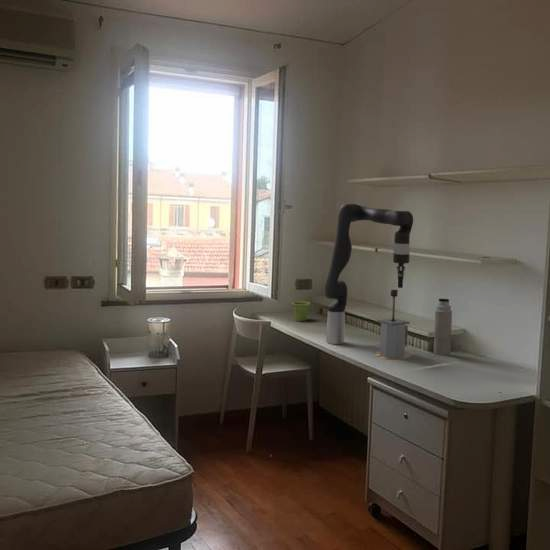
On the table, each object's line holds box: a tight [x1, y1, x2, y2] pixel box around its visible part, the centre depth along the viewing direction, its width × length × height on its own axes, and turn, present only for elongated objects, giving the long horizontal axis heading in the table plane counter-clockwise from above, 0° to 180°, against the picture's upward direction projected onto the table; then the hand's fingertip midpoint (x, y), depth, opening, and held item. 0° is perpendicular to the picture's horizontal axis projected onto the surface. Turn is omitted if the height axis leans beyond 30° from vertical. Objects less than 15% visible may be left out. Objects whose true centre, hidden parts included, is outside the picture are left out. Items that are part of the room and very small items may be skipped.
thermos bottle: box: [433, 298, 453, 357], centre depth 304 cm, size 8×8×28 cm
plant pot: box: [291, 301, 310, 322], centre depth 397 cm, size 12×12×11 cm
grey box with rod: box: [376, 317, 411, 358], centre depth 300 cm, size 11×14×17 cm
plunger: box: [390, 289, 399, 321], centre depth 297 cm, size 8×8×19 cm
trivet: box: [373, 351, 412, 361], centre depth 300 cm, size 18×18×1 cm
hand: (400, 286), depth 297 cm, fingers open, 8 cm apart
